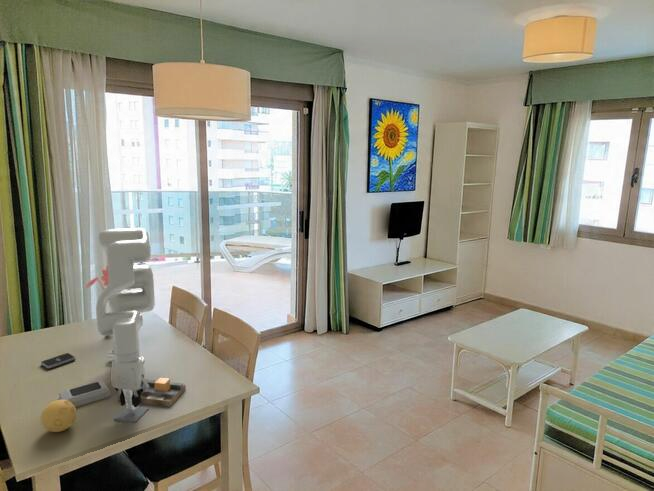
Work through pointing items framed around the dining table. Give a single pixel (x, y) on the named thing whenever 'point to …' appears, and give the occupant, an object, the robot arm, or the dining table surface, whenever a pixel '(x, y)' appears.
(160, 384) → the switch tab
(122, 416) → the mat
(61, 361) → the external hard drive
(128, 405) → the milkshake
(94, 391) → the grey electronic device
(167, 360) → the dining table surface
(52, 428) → the stress ball
